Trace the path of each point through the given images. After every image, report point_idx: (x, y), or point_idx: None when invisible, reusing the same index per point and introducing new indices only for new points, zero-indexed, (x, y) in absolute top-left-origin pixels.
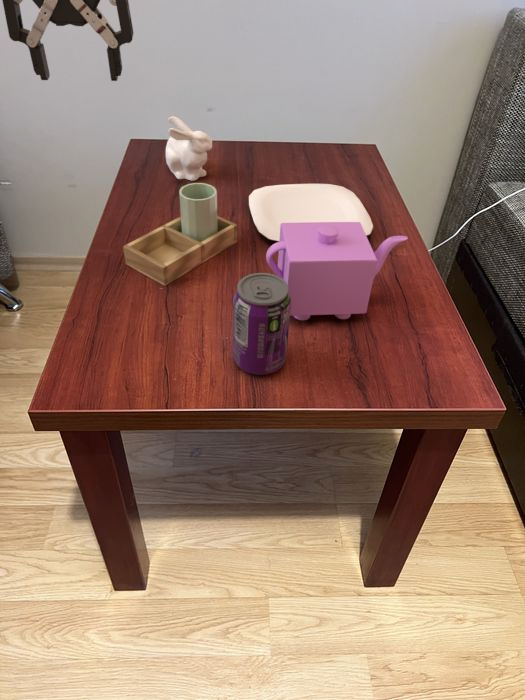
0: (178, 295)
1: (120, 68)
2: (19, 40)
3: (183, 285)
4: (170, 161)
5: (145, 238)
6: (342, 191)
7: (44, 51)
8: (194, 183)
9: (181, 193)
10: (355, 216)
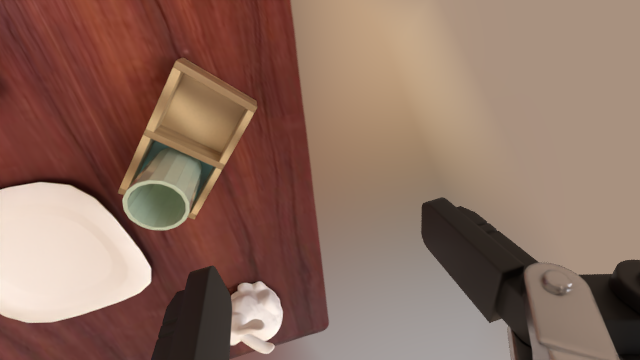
0: (153, 37)
1: (167, 317)
2: (602, 278)
3: (157, 63)
4: (269, 297)
5: (234, 133)
6: (20, 312)
7: (470, 294)
8: (174, 226)
9: (180, 194)
10: None
